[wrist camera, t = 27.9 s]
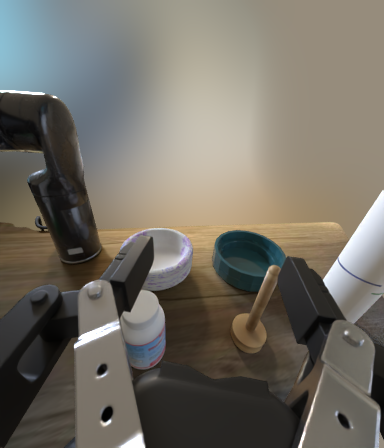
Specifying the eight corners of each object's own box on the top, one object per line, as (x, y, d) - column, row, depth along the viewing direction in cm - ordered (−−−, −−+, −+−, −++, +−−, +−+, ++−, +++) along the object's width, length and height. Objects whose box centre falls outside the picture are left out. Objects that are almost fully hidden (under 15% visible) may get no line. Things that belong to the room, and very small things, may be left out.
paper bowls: (135, 249, 48) (132, 224, 44) (191, 252, 49) (193, 228, 44) (113, 299, 35) (105, 270, 31) (189, 303, 36) (192, 276, 31)
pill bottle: (160, 374, 26) (157, 334, 20) (119, 367, 26) (104, 325, 20) (169, 331, 31) (169, 288, 25) (135, 325, 31) (127, 282, 25)
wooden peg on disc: (223, 331, 32) (244, 262, 23) (244, 313, 35) (269, 247, 26) (249, 361, 28) (286, 293, 19) (269, 339, 31) (309, 271, 22)
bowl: (199, 259, 47) (201, 242, 44) (240, 239, 55) (244, 224, 52) (250, 307, 36) (257, 290, 33) (291, 273, 45) (299, 256, 42)
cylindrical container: (305, 293, 40) (373, 184, 27) (342, 304, 38) (435, 194, 25) (311, 323, 34) (401, 203, 21) (355, 338, 32) (486, 217, 19)
